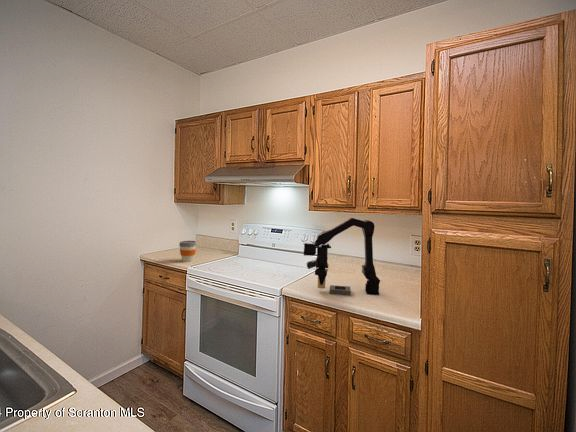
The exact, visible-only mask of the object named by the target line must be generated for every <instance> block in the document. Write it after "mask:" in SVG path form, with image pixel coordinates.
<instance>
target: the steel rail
mask: <svg viewBox="0 0 576 432" xmlns="http://www.w3.org/2000/svg"><path fill="white" fill-rule="evenodd" d="M329 295H336V296H337V295H338V296H351V286H347V285H346V286H345V285H333V284H330V285H329Z"/></svg>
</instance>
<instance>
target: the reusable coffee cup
mask: <svg viewBox="0 0 576 432" xmlns="http://www.w3.org/2000/svg"><path fill="white" fill-rule="evenodd" d="M196 246H197V241H196V240H182V241H179V253H180V256H181V261H183V263H191V262H194V261H195V255H196V252H197V247H196Z"/></svg>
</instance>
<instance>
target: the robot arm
mask: <svg viewBox="0 0 576 432" xmlns="http://www.w3.org/2000/svg"><path fill="white" fill-rule="evenodd" d="M351 227H358V228H361V230H362V231H361V232H362V233H363V237H364V242H363V243H364V264H362V265H361V273H362V274H363V276H364V277H365V278H366V283H365V290H364V291H365V292H366V294H367V295H377V296H380V282H381V280H380V279H379V277H378V276H377V273H376V268H375V265H374V255H373V254H374V253H373V250H374V249H373V236H374V233H375V223H374V222H372V221H371V220H369V219H365V220H361V219H358V218H357V219H356V218H354V217H350V218H348V219H347V220H345V221H344V222H342V223H340V224H338V225H336V226H334V227H332V229H328V230H325V231H323V232H319V234H317V237H316V240H315V241H314V242H313V243H308V242H304V244H303V256H306V257H307V256H308V257H309V256H310V257H312V256H315V255H316V258H315V259H312V260H310V261H307V262H306V268H307V270H310V269H312V268H315V270H314V276H317V277H318V276H319V281H320V285H323V282H324V280H325V278H326V277H327V275H328V271H329V263H328V259H329V257H328V251H329V249H332V246H331V245H330V244H329V242H330V241H331V240H332V239H333V238H335V236H337V235H339V234H341V233H342V232H344V231H346V230H348V229H350V228H351ZM326 279H327V278H326Z"/></svg>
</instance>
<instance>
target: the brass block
mask: <svg viewBox="0 0 576 432" xmlns="http://www.w3.org/2000/svg"><path fill="white" fill-rule="evenodd" d="M326 279H327V278H325V280H324V282H323V285H320V281H319V276H318V275H317V289H326V283H327V282H326Z"/></svg>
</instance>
